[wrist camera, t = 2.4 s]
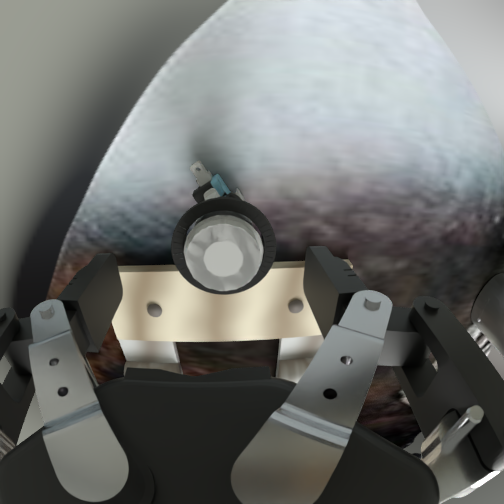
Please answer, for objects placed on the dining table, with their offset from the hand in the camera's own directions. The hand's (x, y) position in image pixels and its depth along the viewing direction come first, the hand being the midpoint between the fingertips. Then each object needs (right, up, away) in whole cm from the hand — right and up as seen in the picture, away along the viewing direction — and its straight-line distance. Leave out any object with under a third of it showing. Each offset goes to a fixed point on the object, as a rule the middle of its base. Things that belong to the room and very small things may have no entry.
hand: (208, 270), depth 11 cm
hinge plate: (-1, -12, +19) cm, 22 cm away
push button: (-1, +5, +11) cm, 12 cm away
